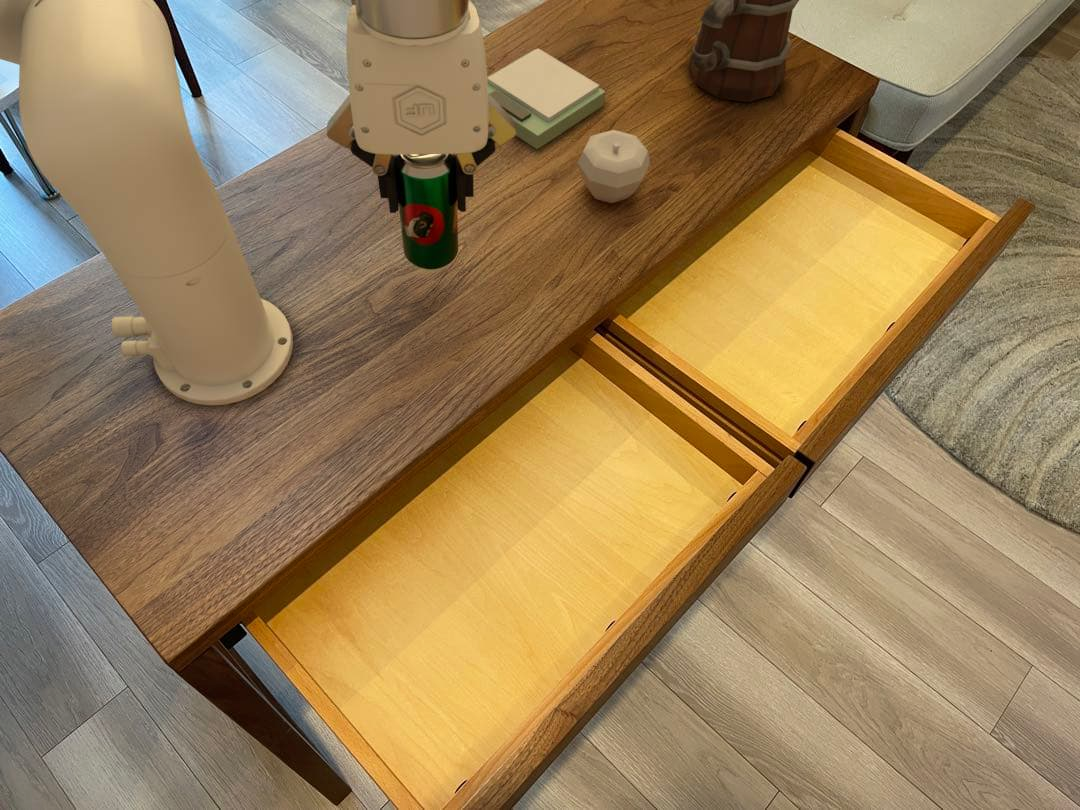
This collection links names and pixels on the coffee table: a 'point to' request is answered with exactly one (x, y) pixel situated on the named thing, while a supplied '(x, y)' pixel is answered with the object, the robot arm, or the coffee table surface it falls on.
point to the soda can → (428, 208)
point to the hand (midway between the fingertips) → (427, 199)
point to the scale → (543, 96)
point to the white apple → (613, 165)
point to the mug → (742, 48)
